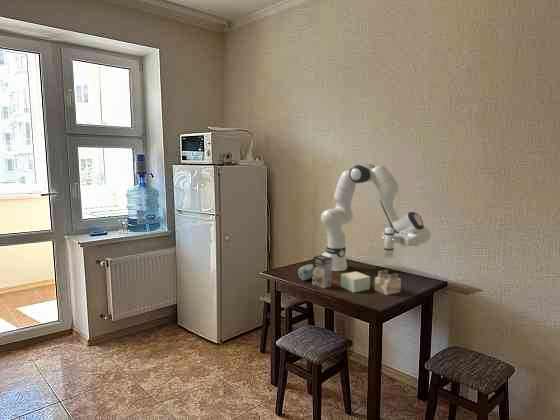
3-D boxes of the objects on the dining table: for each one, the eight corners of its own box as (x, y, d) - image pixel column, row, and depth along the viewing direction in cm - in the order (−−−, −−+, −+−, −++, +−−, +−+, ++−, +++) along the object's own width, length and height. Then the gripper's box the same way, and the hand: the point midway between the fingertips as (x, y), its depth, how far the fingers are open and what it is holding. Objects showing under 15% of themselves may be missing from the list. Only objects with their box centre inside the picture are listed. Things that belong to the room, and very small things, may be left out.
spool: (306, 278, 217) (304, 260, 221) (295, 282, 223) (293, 265, 227) (323, 279, 225) (321, 262, 229) (312, 283, 232) (309, 267, 236)
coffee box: (311, 284, 216) (312, 256, 214) (319, 282, 220) (320, 254, 218) (323, 288, 209) (324, 259, 207) (331, 286, 213) (332, 257, 211)
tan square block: (374, 289, 208) (375, 271, 207) (387, 287, 213) (388, 269, 212) (386, 295, 200) (387, 276, 199) (400, 291, 205) (401, 273, 204)
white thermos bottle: (381, 255, 205) (382, 228, 204) (388, 254, 208) (389, 227, 206) (388, 258, 201) (389, 229, 199) (395, 256, 204) (396, 228, 202)
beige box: (340, 286, 213) (340, 274, 212) (355, 283, 218) (356, 271, 218) (353, 292, 204) (354, 279, 203) (369, 289, 209) (370, 276, 208)
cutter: (328, 284, 217) (328, 281, 216) (333, 282, 221) (333, 279, 221) (350, 289, 208) (350, 287, 207) (355, 287, 212) (355, 284, 212)
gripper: (392, 228, 218) (374, 230, 211) (422, 235, 201) (403, 237, 194) (391, 239, 219) (373, 242, 212) (421, 246, 202) (402, 249, 195)
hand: (388, 239), depth 203 cm, fingers closed on white thermos bottle, 5 cm apart
